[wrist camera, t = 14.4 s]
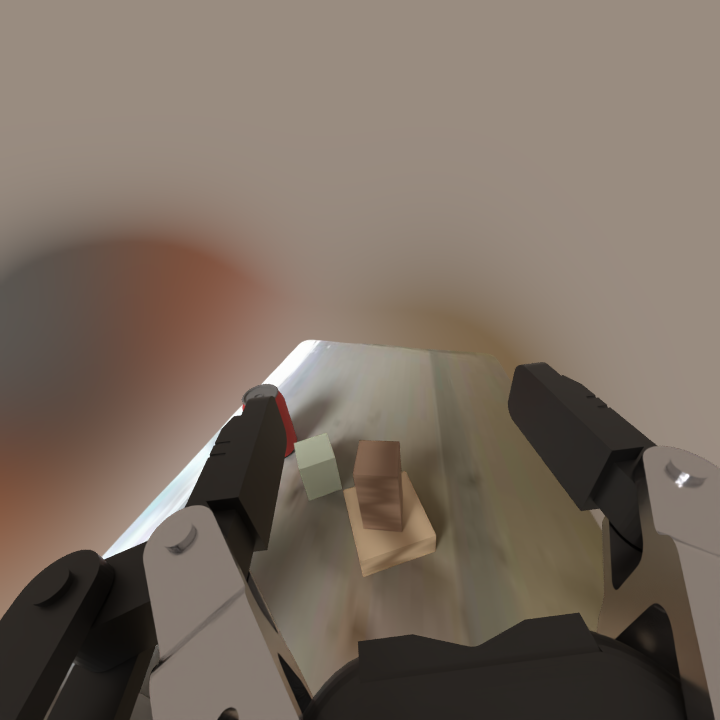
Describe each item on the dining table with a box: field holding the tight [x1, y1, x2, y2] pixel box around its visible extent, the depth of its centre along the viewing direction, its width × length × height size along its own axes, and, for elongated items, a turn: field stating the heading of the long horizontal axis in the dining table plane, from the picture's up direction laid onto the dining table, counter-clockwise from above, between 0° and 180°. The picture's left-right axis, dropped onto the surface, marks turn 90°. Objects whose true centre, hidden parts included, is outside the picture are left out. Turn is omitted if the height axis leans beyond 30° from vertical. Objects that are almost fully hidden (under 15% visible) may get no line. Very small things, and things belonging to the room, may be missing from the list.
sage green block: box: [294, 433, 342, 501], centre depth 43 cm, size 5×5×7 cm
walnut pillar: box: [353, 440, 403, 532], centre depth 33 cm, size 4×4×10 cm
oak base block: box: [343, 471, 436, 577], centre depth 37 cm, size 9×9×4 cm
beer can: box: [242, 384, 297, 457], centre depth 48 cm, size 7×7×12 cm
